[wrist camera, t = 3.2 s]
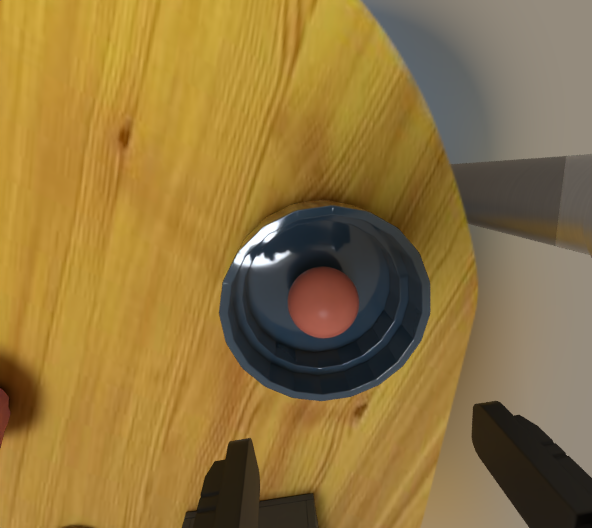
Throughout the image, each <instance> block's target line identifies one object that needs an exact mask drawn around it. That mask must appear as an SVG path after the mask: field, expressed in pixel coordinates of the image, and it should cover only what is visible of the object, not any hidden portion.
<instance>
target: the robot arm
mask: <svg viewBox="0 0 592 528" xmlns="http://www.w3.org/2000/svg"><path fill="white" fill-rule="evenodd" d="M472 420H473V421H472V442H473V445H474V448H475V450H476V452H477V454H478V456H479V458H480V459H481V460H482V462H483V463H484V465H485V466H486V467H487V469H488V470H489V472H490V473H491V475H492V476H493V477H494V479H495V480H496V482H497V483H498V484H499V486H500V487H501V488H502V490H503V491H504V493H505V494H506V496H507V497H508V498H509V500H510V501H511V502H512V504H513V505H514V507H515V508H516V510H517V511H518V512H519V514H520V515H521V517H522V518H523V519H524V521H525V522H526V524H527V525H528V526H529V528H592V478H591V477H590V476H589V475H588V474H587V473H586V472H585V471H584V470H583V469H582V468H581V467H580V466H579V465H578V464H576V462H574V461H573V460H572V459H571V458H570V457H569V456H567V455H566V453H565V452H564V451H563V450H562V449H561V448H560V447H559V446H558V445H557V444H554V443H553V440H552V439H550V437H549V436H548V435H546V434H545V433H544V432H543V431H542V430H541V429H540V428H539V427H538V426H537V425H535V424H533V423H532V422H530V421H529V420H527V419H525V418H524V417H522V416H520V415H516V416H513V415H512V414H511V413H510V412H509V411H508V410H507V409H506V408H505V406H503V405H502V404H501V403H500V402H498V401H492V402H486V403H479V404H475V405H474V406H473V419H472ZM259 497H260V477H259V469H258V465H257V460H256V456H255V452H254V447H253V443H252V440H251V438H248V439H242V440H235V441H230V442H229V444H228V449H227V454H226V459H225V460H221V461H215V462H214V463H213V465H212V467H211V468H210V470H209V471H208V473H207V475H206V476H205V479H204V483H203V487H202V491H201V498H200V500H199V504H198V508H197V514H196V516H195V520H194V524H193V528H258V513H259Z"/></svg>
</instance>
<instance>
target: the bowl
mask: <svg viewBox="0 0 592 528" xmlns="http://www.w3.org/2000/svg"><path fill="white" fill-rule="evenodd" d="M315 267H331V268H335V269H337V270H339V271H341V272H343V273H344V274H345V275H347V276H348V277H349V278H350V280H351V281H352V282H353V284H354V285H355V287H356V290H357V292H358V297H359V309H358V313H357V316H356V319H355V320H354V322H353V323H352V325H351V326H350V327H349V328H348V329H347V330H346V331H345V332H343V333H342V334H340V335H338V336H335V337H331V338H316V337H313V336H310V335H308V334H306V333H304V332H303V331H301V330H300V329H299V328H298V327H297V326H296V325H295V323H294V322H293V320H292V318H291V316H290V314H289V310H288V294H289V291H290V288H291V286H292V284H293V282H294V281H295V280H296V278H297V277H298V276H299V275H301V274H302V273H303V272H305V271H307V270H309V269H312V268H315ZM219 316H220V320H221V324H222V328H223V333H224V337H225V341H226V344H227V345H228V347H229V348H230V350H231V352H232V353H233V355H234V356H235V358H236V359H237V361H238V362H239V364H240V366H241V367H242V368H243V369H244V370H245V371H246V372H248V373H249V374H250V375H251V376H253V377H254V378H255V379H256V380H257V381H259V382H260V383H261V384H262V385H264V386H265V387H267V388H270V389H272V390H274V391H277V392H279V393H282V394H284V395H287V396H289V397H292V398H298V399H307V400H316V401H326V400H333V399H340V398H346V397H351V396H354V395H357V394H359V393H361V392H364V391H366V390H368V389H371V388H373V387H375V386H378V385H379V384H381V383H382V382H383V381H385V380H386V379H387V378H389V377H390V376H391V375H392V374H394V373H395V372H396V371H397V370H399V369H400V368H401V367H402V366H403V365H404V364H405V363H406V361H407V360H408V359H409V357H410V356H411V354H412V353H413V352H414V350H415V349H416V347H417V346H418V345H419V343H420V341H421V340H422V337H423V334H424V331H425V328H426V325H427V322H428V319H429V316H430V280H429V278H428V275H427V272H426V270H425V267H424V264H423V261H422V259H421V256H420V254H419V252H418V251H417V249H416V248H415V247H414V246H413V245H412V244H411V242H410V241H409V240H408V239H407V238H406V237H405V235H404V234H403V233H402V232H401V231H400V230H399V229H398V228H397V227H395V226H393V225H392V224H390V223H388V222H386V221H385V220H383V219H381V218H379V217H377V216H376V215H374V214H372V213H370V212H368V211H366V210H363V209H361V208H358V207H356V206H353V205H350V204H345V203H339V202H334V201H328V200H315V201H309V202H302V203H295V204H292V205H290V206H288V207H286V208H284V209H282V210H280V211H278V212H276V213H273V214H271V215H269V216H267V218H265V219H264V220H263V221H262V222H261V223H260V224H259V225H258V226H257V227H256V228H255V229H254V230H253V231H252V232H251V233H250V234H249V235H248V236H247V237H246V238H245V240H244V241H243V243H242V245H241V247H240V248H239V250H238V252H237V254H236V256H235V258H234V260H233V262H232V264H231V266H230V268H229V270H228V272H227V274H226V276H225V278H224V280H223V283H222V292H221V300H220V309H219Z"/></svg>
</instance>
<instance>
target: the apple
mask: <svg viewBox="0 0 592 528" xmlns="http://www.w3.org/2000/svg"><path fill="white" fill-rule="evenodd" d="M8 405H9V397H8V396H7V394H6V393H5V392H4V391H3V390H2V389H1V388H0V448H1V444H2V440H3V436H4V432H5V429H6V427H7V424H8V421H9V417H10V414H11V412H10V410H9V408H8Z"/></svg>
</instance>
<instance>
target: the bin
mask: <svg viewBox="0 0 592 528" xmlns="http://www.w3.org/2000/svg"><path fill="white" fill-rule="evenodd" d="M196 514H197V511H194V512H187V513H186V515H185V519H184V522H183V526H182V528H193V524H194V520H195V516H196ZM258 528H319V527H318V521H317V515H316V509H315V503H314V496H313V493H312V494H306V495H299V496H292V497H286V498H279V499H273V500H266V501H260V502H259V513H258Z"/></svg>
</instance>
